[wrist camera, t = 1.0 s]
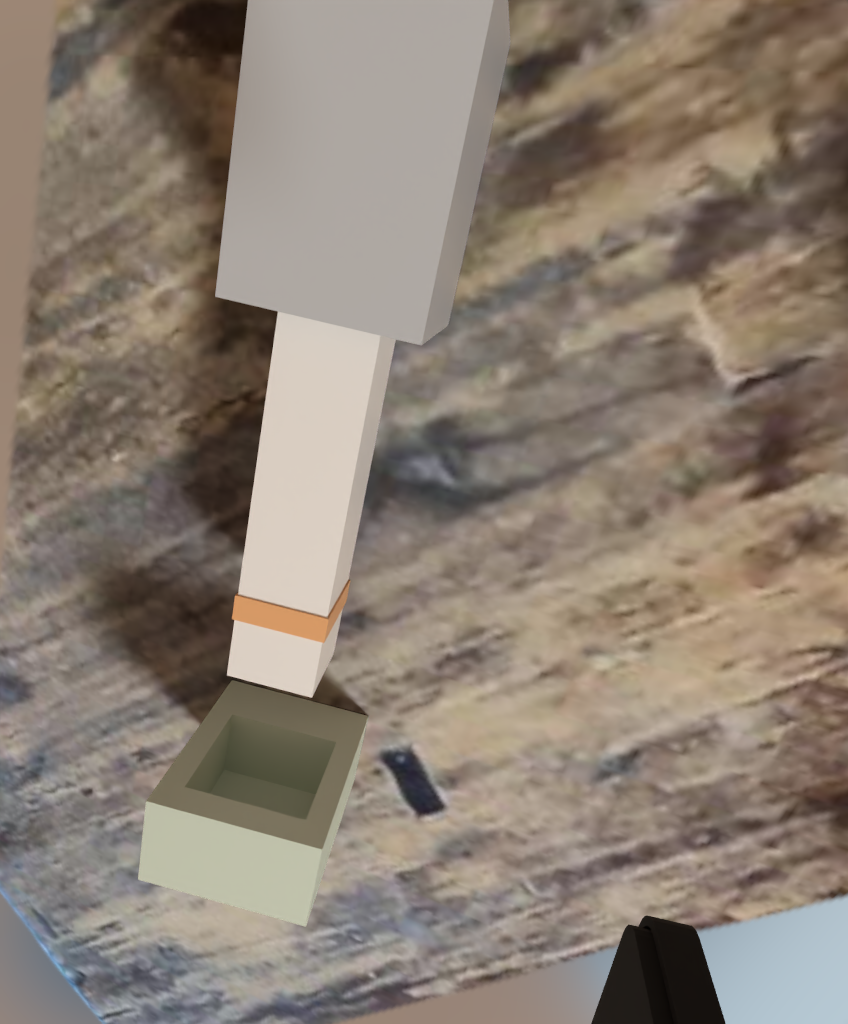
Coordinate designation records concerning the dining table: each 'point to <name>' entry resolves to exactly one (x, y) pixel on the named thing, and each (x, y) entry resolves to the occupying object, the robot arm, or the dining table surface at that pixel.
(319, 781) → the socket
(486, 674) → the dining table surface
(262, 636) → the orange-striped white bar
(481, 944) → the dining table surface
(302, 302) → the grey block
